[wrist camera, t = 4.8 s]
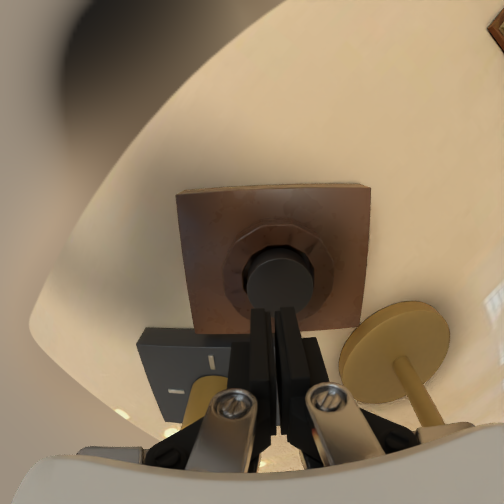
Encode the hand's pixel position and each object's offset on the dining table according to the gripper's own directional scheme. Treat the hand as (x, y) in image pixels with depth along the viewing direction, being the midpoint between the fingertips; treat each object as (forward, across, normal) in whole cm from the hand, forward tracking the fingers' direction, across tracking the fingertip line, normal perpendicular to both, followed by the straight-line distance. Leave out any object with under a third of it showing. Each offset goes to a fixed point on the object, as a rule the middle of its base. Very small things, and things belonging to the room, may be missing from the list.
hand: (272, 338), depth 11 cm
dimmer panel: (+10, +4, +11) cm, 15 cm away
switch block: (+10, -1, 0) cm, 10 cm away
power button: (+6, -1, 0) cm, 6 cm away
